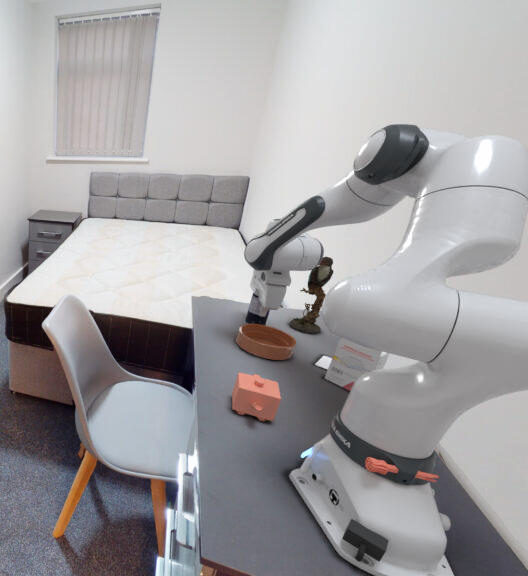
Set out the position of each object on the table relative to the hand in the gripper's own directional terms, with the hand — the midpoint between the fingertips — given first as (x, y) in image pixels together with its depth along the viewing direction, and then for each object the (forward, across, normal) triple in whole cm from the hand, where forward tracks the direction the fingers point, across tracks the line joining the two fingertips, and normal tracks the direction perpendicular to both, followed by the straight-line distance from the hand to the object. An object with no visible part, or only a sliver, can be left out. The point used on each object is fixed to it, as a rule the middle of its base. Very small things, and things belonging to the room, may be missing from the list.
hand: (258, 311), depth 119 cm
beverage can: (+5, 0, 0) cm, 5 cm away
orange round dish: (+7, +12, 0) cm, 14 cm away
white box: (+7, +16, +17) cm, 25 cm away
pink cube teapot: (+7, +45, -10) cm, 47 cm away
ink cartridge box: (+7, +25, +16) cm, 31 cm away
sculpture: (+7, -7, +16) cm, 19 cm away
